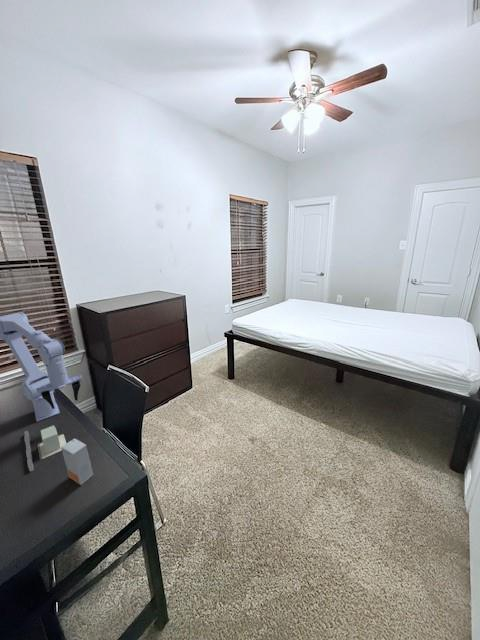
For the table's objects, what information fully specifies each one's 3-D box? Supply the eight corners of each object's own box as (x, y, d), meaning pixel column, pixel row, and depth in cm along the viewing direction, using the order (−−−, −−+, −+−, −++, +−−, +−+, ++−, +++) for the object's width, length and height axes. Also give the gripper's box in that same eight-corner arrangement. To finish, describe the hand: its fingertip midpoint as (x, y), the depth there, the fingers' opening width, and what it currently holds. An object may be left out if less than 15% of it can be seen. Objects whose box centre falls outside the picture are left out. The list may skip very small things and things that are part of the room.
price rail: (24, 435, 99) (23, 431, 99) (28, 433, 100) (27, 430, 100) (29, 472, 84) (28, 468, 83) (33, 470, 84) (32, 466, 84)
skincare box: (68, 478, 81) (60, 446, 78) (82, 467, 85) (74, 437, 81) (80, 486, 79) (72, 454, 75) (94, 475, 82) (86, 444, 79)
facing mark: (37, 445, 95) (37, 444, 94) (63, 434, 100) (63, 433, 99) (40, 460, 88) (40, 459, 88) (67, 447, 93) (67, 447, 93)
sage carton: (46, 454, 90) (42, 439, 88) (44, 444, 95) (40, 430, 93) (61, 447, 93) (57, 433, 91) (58, 438, 97) (54, 424, 95)
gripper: (34, 383, 91) (43, 416, 95) (81, 369, 100) (88, 400, 104) (32, 375, 96) (41, 407, 100) (77, 363, 105) (84, 393, 109)
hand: (64, 403), depth 103 cm, fingers open, 7 cm apart
